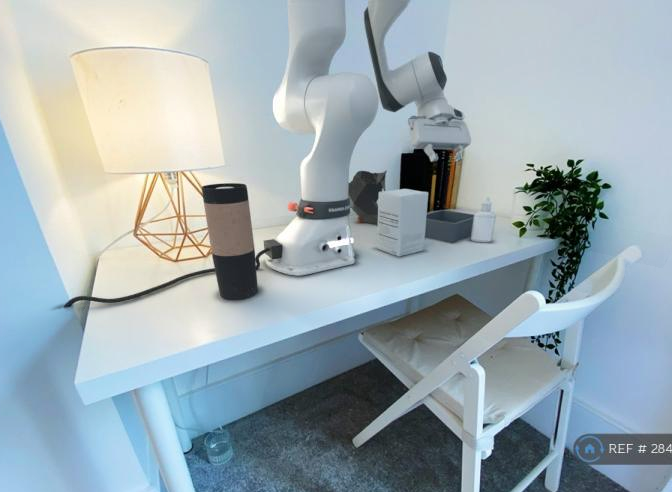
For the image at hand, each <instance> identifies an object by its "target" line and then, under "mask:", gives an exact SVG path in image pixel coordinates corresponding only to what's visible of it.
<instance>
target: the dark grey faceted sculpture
mask: <svg viewBox="0 0 672 492" xmlns="http://www.w3.org/2000/svg"><path fill="white" fill-rule="evenodd" d="M387 172H388V170H387V169H386V170H385V171H382V172H370V171H369V170H368V171H367V170H358V171H356V173H355V174H354V175H353V177H352V180H350V182H349V184H348V197H349V198H350V206H351V207H350V209H351V210H352V212H354V213H355V214H356V216H357V218H356V223H358V224H363V223H364V224H371V225H375V226H378V198H379V192H383V191H387V190H386V176H387V175H386V174H387Z"/></svg>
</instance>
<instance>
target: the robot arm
mask: <svg viewBox="0 0 672 492" xmlns="http://www.w3.org/2000/svg"><path fill="white" fill-rule="evenodd" d="M411 1H412V0H367V6H366V8H365V10H364V11H363V25H364V30H365V36H366V40H367V45H368V51H369V54H370V58H371V59H370V60H371V63H372V69H373V71H374V77H375V81H376V85H375V84H374V82H373V80H372V79H371V78H370V76H368V75H366V74H362V73H357V72H348V71H346V72H345V71H344V72H337V73H331V74H329V73H330V67H331V64H332V61H333V59H334V57H335V54H336V53H337V52H338V51H339V50H340V48H341V47H342V46H343V44H344V42H345V40H346V36H347V35H346V34H347V21H346V0H286V3H287V4H286V7H287V19H288V21H287V22H288V33H289V35H288V37H289V38H288V40H289V41H288V42H289V44H288V54H287V62H286V67H285V71H284V74H283V78H282V81H281V83H280V85H279V87H278V89H277V90H276V92H275V93H274V96H273V100H272V112H273V116H274V118H275V120H276V122H277V124H278V125H279V126H280V128H282V129H283V130H285V131H288V132H291V133H294V134H298V135H304V136H305V135H315V137H314V143H313V146H312V149H311V151H310V153H309V154H308V155H306V156H305V157H304V158H303V159H302V161H301V163H300V167H299V175H300V190H301V191H300V192H301V198H300V199H299V202H298V203H296V202H293V201H290V202H288V203H287V206H286V207H287V210H288V211H289V212H294V213H295V214H296V217H294V218H293V219H292V220H291V221H290V222H289V224H288V225H287V226H286V227H284V229H283V230H282V231H281V232H280V233H279V234H278V235H277V237H276V239H274V238H273V239H265V240H263V249H262V250H260V251H259V252H258V253H256V254H255V261H256V271H257V270H258V269H260V267H261V262H260V257H261V256H263V255H264V254H265V255H266V256H267V257H266V258H265V264H266V266H268V268H270V269H272V270H274V271H276V272H279V273H282V274H284V275H290V276H297V277H298V276H299V277H302V276H306V275H311V274H316V273H319V272H324V271H328V270H329V271H330V270H333V269H337V268H342V267H346V266H350V265H354V264H355V263H356V261H355V256H356V253H355V250H354V247H353V243H354V238H353V237H352V233H351V225H350V214H351V208H350V207H351V206H350V198H349V197H348V184H349V183H350V182H349V181H350V180H349V179H350V166H351V160H352V156H353V152H354V150H355V147H356V145H357V143H358V141H359V139H360V138H361V136H362V135H363V133H364V132H365V131H366V130H367V129H368V128H369V127H371V125H372V124H373V122H374V121H375V119H376V116H377V114H378V109H379V104H380V105H381V107H382V109H383V110H385V111H388V112H391V113H397V112H398V111H400V110H402V109H403V108H405V107H406V106H408V105H410V104H412V103H414V105H415V106H416V108H417V115H411V116H410V117H409V118H408V120H407V123H408V127H409V128H408V130H409V138H410V143H411V146H412V147H413V148H414V149H419V150H420V149H422V150H423V152H424V153H425V154H426V155H427V157H428V158H429V161H430V162H431V163H435V162H437V161H438V160H439V155H438V153H437V152H435V151H434V150H452V151H454V153H455V155H454V156H453V160H454V163H460V162H462V161H463V160H464V157H463V151H464V150H465V149H466V148H467V147H469V146H470V145H471V143H472V138H471V133H470V130H469V127H468V125H467V123H466V121H464V119H465V114H464V112H463V111H461V110H460V109H456V108H455V107H454V106H452V105H451V104H449V102H448V99H447V98H446V97H445V87H446V85H447V82H448V78H447V75H446V72H445V70H444V64H443V60H442V57H441V55H439V54H437V53H435V52H433V51H427V52H424V53H422V54H419V55H418V56H416V57H415V58H413V59H411V60H410V61H408V62H405V63H404V64H402V65H401V66H398V67H397V68H395V69H390V68H389V63H388V57H387V53H386V47H385V40H386V36H387V34H388V33H389V30H390V29H391V27H392V26H394V23H395V22H396V21H397V20H398V19H399V17H400V16H401V15H402V14H403V13H404V12H405V10H406V8H408V6H409V4H410V2H411ZM209 273H216V272H215V267H212V268H206V269H202V270H197V271H194V272H189V273H186V274H184V275H180V276H178V277H176V278H174V279H172V280H170V281H167V282H164V283H162V284H159V285H156V286H153V287H151V288H147V289H146V290H142V291H139V292H136V293H133V294H129V295H125V296H121V297H114V298H105V297H104V298H103V297H97V296H96V297H95V296H89V295H78V296H75V297H73V298H71V299H69V300H68V301H67V302H66V303H65V304H64V306H63V308H70V307H71V306H72V305H73V304H75V303H77V302H80V301H87V302H95V303H102V304H116V303H122V302H126V301H131V300H134V299H137V298H140V297H143V296H147V295H148V294H151V293H154V292H156V291H160V290H162V289H166V288H167V287H170V286H172V285H174V284H176V283H178V282H181V281H183V280H186V279H189V278H193V277H196V276H199V275H204V274H209Z"/></svg>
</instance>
